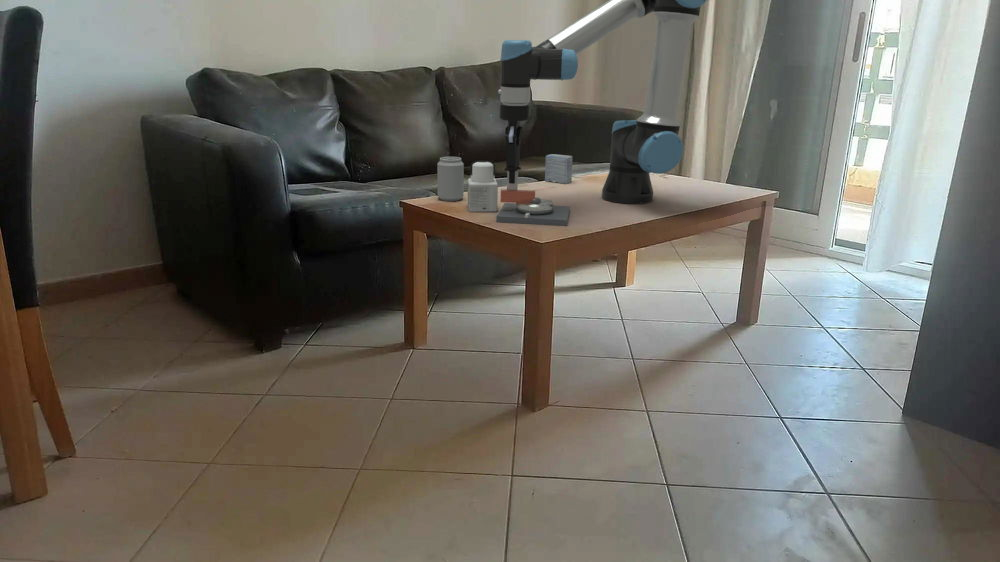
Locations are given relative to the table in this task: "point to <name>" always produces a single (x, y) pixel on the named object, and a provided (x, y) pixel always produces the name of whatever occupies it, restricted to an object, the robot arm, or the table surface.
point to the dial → (527, 201)
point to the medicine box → (558, 168)
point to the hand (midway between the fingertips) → (511, 194)
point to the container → (482, 187)
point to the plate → (533, 216)
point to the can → (450, 178)
